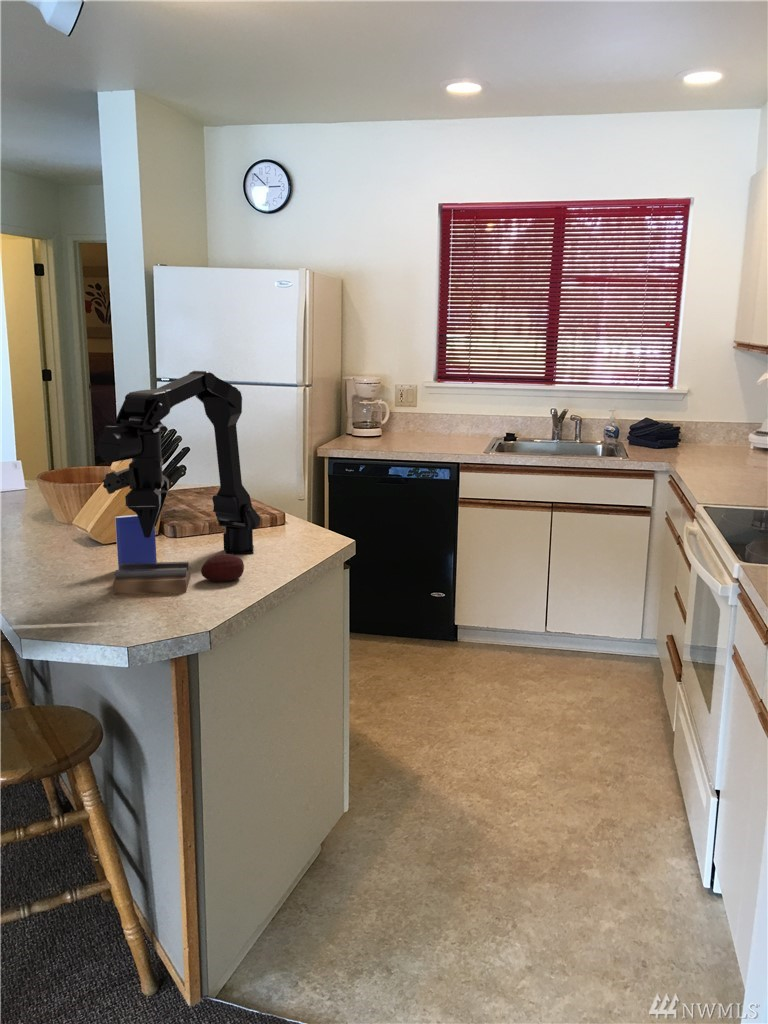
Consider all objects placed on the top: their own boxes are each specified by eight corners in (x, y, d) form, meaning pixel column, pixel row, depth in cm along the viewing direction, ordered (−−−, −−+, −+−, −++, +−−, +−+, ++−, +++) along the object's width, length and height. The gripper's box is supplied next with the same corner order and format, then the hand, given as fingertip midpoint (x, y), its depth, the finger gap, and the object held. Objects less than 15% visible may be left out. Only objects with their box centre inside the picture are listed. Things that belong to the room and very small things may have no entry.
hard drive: (157, 568, 178) (154, 514, 175) (119, 573, 174) (115, 518, 171) (155, 567, 179) (153, 513, 176) (118, 571, 175) (114, 516, 173)
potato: (245, 585, 167) (244, 558, 165) (201, 588, 165) (200, 560, 164) (243, 575, 174) (243, 548, 173) (201, 577, 172) (200, 550, 171)
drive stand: (190, 578, 171) (189, 558, 170) (186, 593, 161) (185, 572, 160) (122, 581, 168) (121, 560, 167) (114, 596, 159) (112, 574, 158)
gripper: (112, 449, 166) (117, 522, 170) (95, 463, 148) (100, 544, 152) (167, 449, 168) (170, 520, 171) (156, 463, 150) (160, 543, 153)
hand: (150, 531), depth 162 cm, fingers open, 9 cm apart
